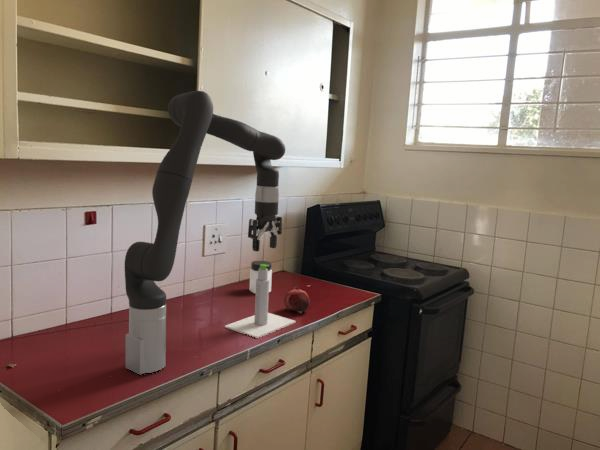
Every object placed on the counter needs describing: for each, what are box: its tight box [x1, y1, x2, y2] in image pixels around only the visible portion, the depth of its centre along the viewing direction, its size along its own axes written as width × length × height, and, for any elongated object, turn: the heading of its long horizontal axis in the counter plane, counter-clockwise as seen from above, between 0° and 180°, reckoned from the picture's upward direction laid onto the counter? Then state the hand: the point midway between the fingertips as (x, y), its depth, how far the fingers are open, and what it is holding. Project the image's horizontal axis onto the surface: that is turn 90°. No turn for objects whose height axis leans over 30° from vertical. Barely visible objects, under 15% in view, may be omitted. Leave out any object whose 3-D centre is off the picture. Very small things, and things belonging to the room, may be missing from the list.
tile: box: [224, 312, 297, 339], centre depth 168 cm, size 20×14×1 cm
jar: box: [249, 260, 273, 294], centre depth 206 cm, size 9×8×12 cm
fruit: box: [283, 284, 311, 314], centre depth 183 cm, size 9×10×10 cm
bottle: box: [254, 264, 270, 325], centre depth 166 cm, size 4×4×20 cm
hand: (264, 249), depth 164 cm, fingers open, 8 cm apart
